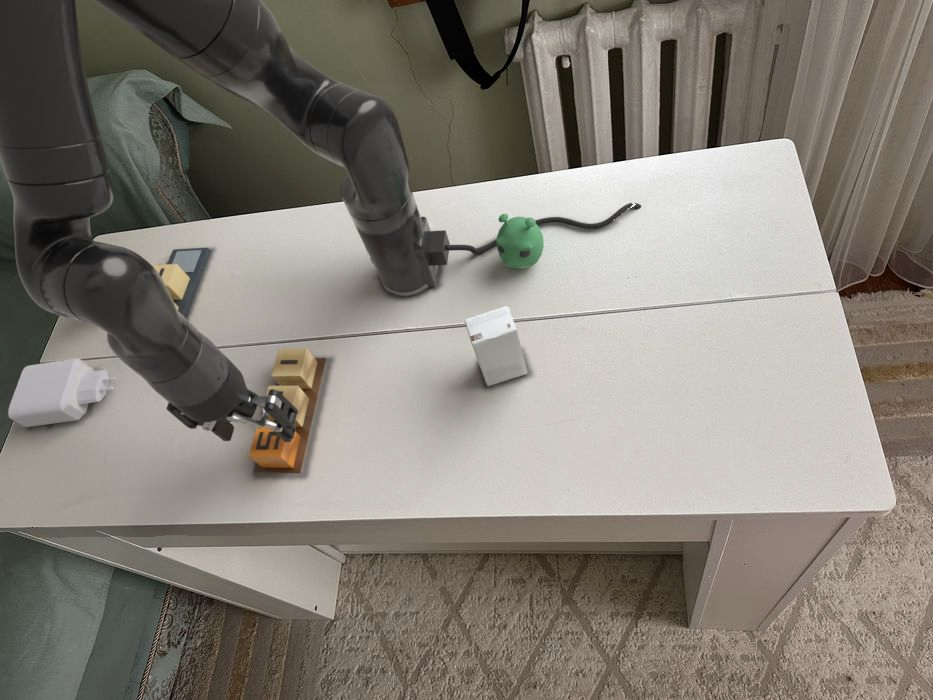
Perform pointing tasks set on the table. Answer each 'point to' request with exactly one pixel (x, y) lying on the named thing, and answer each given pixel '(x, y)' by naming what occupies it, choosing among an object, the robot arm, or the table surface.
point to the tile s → (273, 449)
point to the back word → (183, 275)
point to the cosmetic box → (496, 345)
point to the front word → (297, 395)
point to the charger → (57, 392)
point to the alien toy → (519, 242)
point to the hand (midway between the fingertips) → (260, 434)
